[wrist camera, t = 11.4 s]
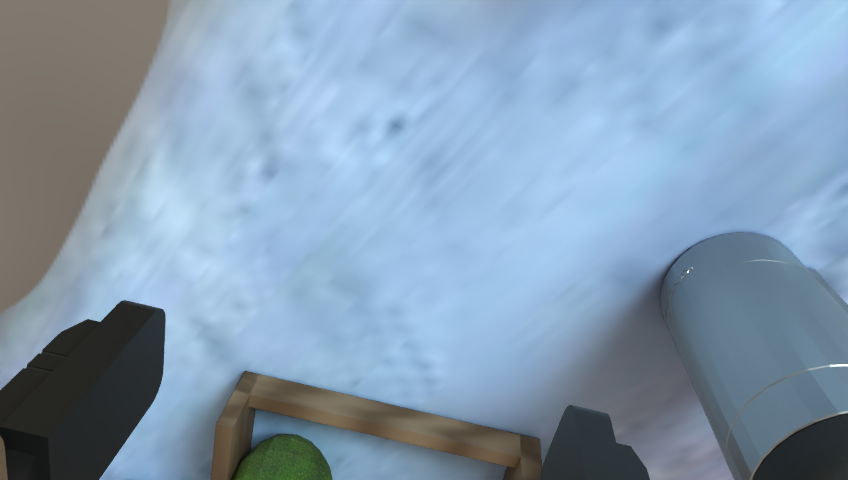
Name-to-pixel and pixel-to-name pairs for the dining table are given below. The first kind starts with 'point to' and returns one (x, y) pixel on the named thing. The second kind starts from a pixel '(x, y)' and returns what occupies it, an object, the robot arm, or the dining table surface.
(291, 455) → the avocado
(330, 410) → the frame
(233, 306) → the dining table surface
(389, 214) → the dining table surface
